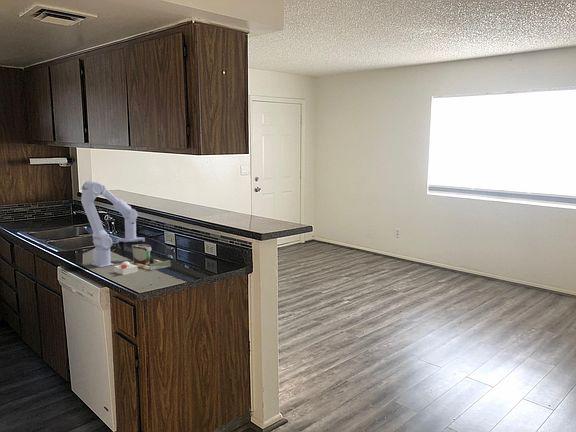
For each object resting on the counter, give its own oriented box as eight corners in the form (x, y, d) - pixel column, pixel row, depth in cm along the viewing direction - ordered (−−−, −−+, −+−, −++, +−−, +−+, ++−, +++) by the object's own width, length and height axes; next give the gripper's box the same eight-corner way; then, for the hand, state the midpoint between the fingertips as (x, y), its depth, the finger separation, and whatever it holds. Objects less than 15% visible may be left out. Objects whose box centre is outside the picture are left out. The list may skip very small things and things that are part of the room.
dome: (118, 270, 238) (118, 261, 237) (127, 269, 242) (127, 259, 241) (124, 272, 235) (124, 263, 234) (133, 270, 239) (132, 261, 238)
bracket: (135, 265, 251) (134, 260, 250) (154, 262, 260) (154, 256, 260) (151, 270, 242) (150, 264, 242) (170, 266, 251) (170, 260, 251)
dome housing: (114, 272, 238) (113, 262, 237) (128, 269, 244) (128, 259, 243) (123, 275, 233) (123, 265, 232) (137, 271, 239) (137, 262, 238)
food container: (156, 264, 255) (156, 245, 254) (147, 266, 250) (147, 247, 248) (141, 261, 262) (140, 243, 260) (132, 263, 256) (131, 244, 255)
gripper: (116, 232, 255) (116, 257, 257) (144, 231, 259) (145, 255, 261) (116, 229, 262) (117, 254, 264) (144, 229, 266) (144, 253, 268)
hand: (131, 254), depth 263 cm, fingers open, 7 cm apart
